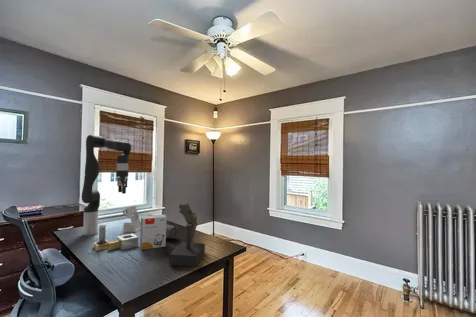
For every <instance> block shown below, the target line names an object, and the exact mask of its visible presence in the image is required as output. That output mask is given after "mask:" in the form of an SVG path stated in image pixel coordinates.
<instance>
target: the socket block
mask: <svg viewBox="0 0 476 317" xmlns="http://www.w3.org/2000/svg"><path fill="white" fill-rule="evenodd" d="M118 240H120V248H119V249H120V250H121V251H123V250H128V249H132V248H136V247H139V236H137V235H136V234H135V233H134V232H133V233H129V234H123V235H119V236H116V241H118Z"/></svg>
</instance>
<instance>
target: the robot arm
mask: <svg viewBox="0 0 476 317" xmlns="http://www.w3.org/2000/svg"><path fill="white" fill-rule="evenodd" d="M95 148H107V149H109V150H113V151H117V152H122V154H119V155H117V158H116V171H115V172H116V173H115V176H116V177H117V178H116V179H117V181H116V182H117V184H116V186H117V187H118V189H117V192H118V193H121V194H126V193H127V187H128V178H126V177H129V157H130V154H131V150H132V144H131V143H130V142H129V141H121V140H115V139H109V138H108V139H107V138H106V137H103V136H100V135H94V134H93V135H92V134H89V135H87V136H86V138H85V153H86V154H85V164H84V166H85V167H84V180H83V185H82V192H81V200H82V203H85V204H87V205H86V206H85V207H84V208H83V227H82V229H83V230H82V231H83V232H82V234H83V236H85V235H86V237H87V236H88V237H89V236H95V235H96V234H99V208H100V202H101V193H100V192H99V190H97V189H93V187H94V183H95V181H96V180H97V178H98V176H99V174H100V163H99V161H98V159H97V157H96V155H95V153H94V152H95V151H94V149H95Z"/></svg>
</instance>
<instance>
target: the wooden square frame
mask: <svg viewBox="0 0 476 317" xmlns="http://www.w3.org/2000/svg"><path fill="white" fill-rule="evenodd" d="M109 242H110V241H109V240H108V239H105V244H101V245H99V241H96V242H93V243H92V245H93V249H94V250H95V251H96V252H97V251H102V250H106V249H107V250H108V243H109Z"/></svg>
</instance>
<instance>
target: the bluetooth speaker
mask: <svg viewBox="0 0 476 317" xmlns="http://www.w3.org/2000/svg"><path fill="white" fill-rule="evenodd" d="M177 235H178V228H177V226H174V225H171V224H166V240H167V239H175V238H176V236H177Z"/></svg>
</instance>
